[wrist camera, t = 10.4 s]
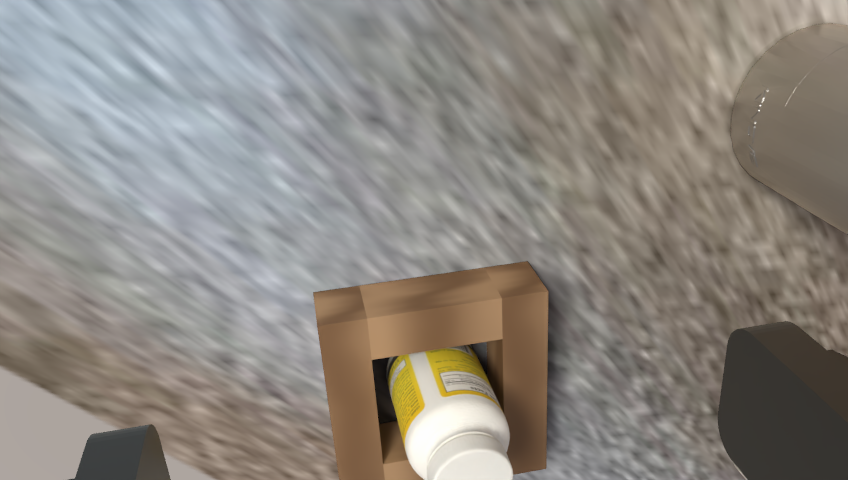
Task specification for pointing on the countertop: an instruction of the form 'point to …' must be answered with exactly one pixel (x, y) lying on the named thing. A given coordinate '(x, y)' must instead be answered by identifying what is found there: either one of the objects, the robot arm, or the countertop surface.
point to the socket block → (430, 330)
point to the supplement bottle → (449, 415)
